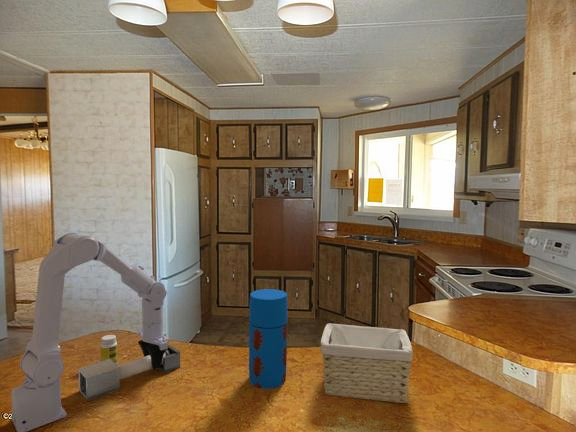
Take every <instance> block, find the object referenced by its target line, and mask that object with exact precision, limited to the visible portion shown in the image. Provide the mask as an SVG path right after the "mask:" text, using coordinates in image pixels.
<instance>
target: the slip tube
mask: <svg viewBox="0 0 576 432" xmlns="http://www.w3.org/2000/svg"><path fill="white" fill-rule="evenodd" d="M168 355H170V354H169V351H168V350H167V349H166V351H165V353H164V355H163V357H165V356H168ZM116 365H117V366H118V367H119V370H120V380H123V379H124V378H128V377H131V376H134V375H136V374H139V373H142V372H145V371H148V370H150V369H153V368H152V364H151V357H150V355H148V356H145V357H144V356H142V357H139V358H136V359H133V360H129V361H127V362H124V363H120V364H116ZM161 365H163V359H162V363H161Z"/></svg>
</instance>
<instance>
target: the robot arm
mask: <svg viewBox="0 0 576 432" xmlns="http://www.w3.org/2000/svg"><path fill="white" fill-rule="evenodd" d="M90 261H96V262H98V261H99V262H101V263H102V264H104V265H105V266H107V267H109V268H110V269H111V270H112V271H113V272H115V273H117V274H119V275H120V280H121V282H122V283H123V284H124V285H126V287H128V288H130V289H131V290H132V291H134V292H136V294H137V296H138V297H139V298H141V321H142V322H141V323H142V326H141V327H142V328H141V329H138V335H139V337H140V338H141V340H138V342H137V344H138V346H139V347H140V349H141V351H142V352H141V353H142V354H143V357H145V356H148V355H150V357H151V364H152V368H151V369H152V370H157V369H158V370H159V368H160V367H161V363H162V359H163V355H164V353H165V351H166V349H168V345H169V342H168V341H167V340H166V336H167V332H166V331H165V330H164V314H163V313H164V309H163V308H164V302H165V301H164V299H165V298H166V297H167V294H168V290H167V289H166V287H165V285H164V284H163V283H162V282H159V281H156V280H155V279H156V278H155V276H153V275H149V274H148V273H147V272H146V271H144V270H145V268H144V267H143V266H141V265H136V264H134V265H129V264H128V263H127V262H126V261H125V260H123V259H122V258H121V257H120V256H119V255H118V254H117V253H115V252H114V251H113V250H112V249H110V248H109V247H108V246H107V245H106V244H104V243H103V242H101V241H98V240H97V239H96V238H95V237H93V236H90V235H82V234H79V233H76V232H68V233H65V234H63V235H62V236H60V237H58V238H57V239H55V240H54V241H53V245H52V247H51V248H50V250H49V251H48V252H47V254H46V255H45V256H44V257H43V259H42V261H41V262H40V264H39V268H38V279H37V288H36V296H35V306H34V317H33V325H32V327H33V328H32V335H31V340H30V341H29V342H28V343H27V344H26V348H25V351H24V354H23V355H22V356H21V359H20V361H19V368H20V370H21V371H22V372H23V373H24V374H25V376H24V379H23V383H22V384H21V385H18V386H17V387H14V388H12V389H11V420H12V423H13V425H14V427H15V430H16V432H29V431H33V430H34V429H37V428H39V427H41V426H45V425H48V424H50V423H53V422H56V421H58V420H61V419H63V418H66V417H67V416H68V413H67V412H66V411H65V409H64V407H63V406H62V394H61V392H62V390H61V389H62V388H61V376H62V375H63V373H64V369H65V363H64V361H63V360H62V348H61V346H60V342H59V333H60V324H61V316H62V305H63V295H64V286H65V277H66V276H65V275H66V274H67V273H68V272H70V271H71V270H72V269H75V267H77V266H80V265H83V264H85V263H88V262H90Z"/></svg>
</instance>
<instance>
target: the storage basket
mask: <svg viewBox="0 0 576 432" xmlns="http://www.w3.org/2000/svg"><path fill="white" fill-rule="evenodd" d="M322 332H323V333H322V336H321V339H320V353H321V354H322V362H323V363H322V366H323V369H322V372H323V380H324V383H323V388H324V394H325V395H327V396H328V395H329V396H332V397H342V398H352V399H360V400H361V399H362V400H370V399H371V401H382V402H391V403H398V404H399V403H400V404H407V403H408V396H409V382H410V373H411V367H412V361H413V360H414V359H413V358H414V357H413V347H412V344H411V341H410V338H409V336H408V334H407V331H406V330H405V329H397V328H388V327H387V328H386V327H374V326H373V327H372V326H362V325H361V326H360V325H350V324H349V325H348V324H341V323H340V324H339V323H327V324H325V327H324V329H323V331H322Z"/></svg>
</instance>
